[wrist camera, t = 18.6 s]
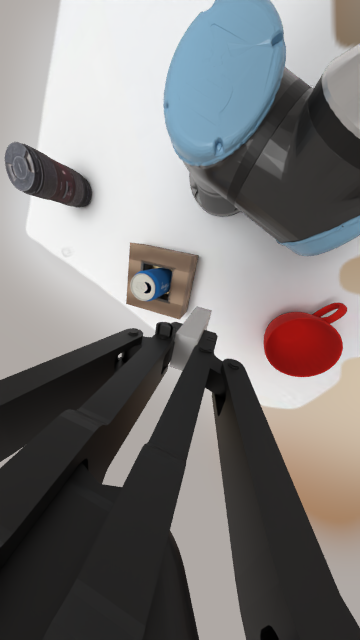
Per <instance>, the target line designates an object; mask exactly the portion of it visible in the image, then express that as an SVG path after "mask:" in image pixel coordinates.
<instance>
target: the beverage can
mask: <svg viewBox="0 0 360 640" xmlns="http://www.w3.org/2000/svg"><path fill="white" fill-rule="evenodd" d="M171 278H172V272H171V271H170V270H169V269H166V268H162V267H160V268H155V269H149V270H144V271H139V272H138V273H136V274H135V275H134V277H133V278H132V280H131V283H130V288H131V291H132V293H133V295H134V296H135V297H136V298H137V299H139V300H142V301H152V300H154V299H156V298H157V297H159V296H161V295H163V294H165V293H167V292H169V290H170V284H171Z"/></svg>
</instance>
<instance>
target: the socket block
mask: <svg viewBox="0 0 360 640" xmlns="http://www.w3.org/2000/svg"><path fill="white" fill-rule="evenodd" d="M197 260H198V255H193V254H188V253H183V252H179V251H174V250H169V249H164V248H160V247H155V246H150V245H145V244H137V243H130V255H129V270H128V286H127V302H126V304H129V305H132V306H136V307H139V308H143V309H146V310H150V311H153V312H156V313H160V314H163V315H167V316H170V317H173V318H177V319H180V318H181V317H182V316H183V315H184V314H185V313H186V312H187V307H188V302H189V298H190V293H191V288H192V283H193V279H194V274H195V269H196V264H197ZM153 266H157V267H162V268H166V269H170V270H173V272H172V278H171V284H170V290H169V294H166V293H165V294H163V295H161V296H159V297H157V298H156V299H154V300H152V301H142V300H139V299H137V298H136V297H135V296H134V295H133V293H132V291H131V288H130V283H131V280H132V278H133V277H134V275H135V274H136V273H138V272H139V271H144V270H149V269H153Z"/></svg>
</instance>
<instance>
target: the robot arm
mask: <svg viewBox="0 0 360 640" xmlns="http://www.w3.org/2000/svg"><path fill="white" fill-rule="evenodd" d="M283 34H284V33H283V26H282V22H281V19H280V16H279V14H278V12H277V10H276V9H275V7H274V5H273V4H272V3H271V1H270V0H215V2H214V4H213V6H212V7H211V8H210V9H209V10H207V11H205V12H201V13H200V14H199V15H198V16H197V17H196V18H195V20H194V21H193V22H192V23H191V25H190V26H189V28H188V29H187V31H186V32H185V34H184V35H183V37H182V39H181V41H180V42H179V44H178V46H177V48H176V51H175V53H174V55H173V58H172V61H171V64H170V67H169V70H168V74H167V79H166V84H165V90H164V115H165V123H166V127H167V131H168V134H169V136H170V139H171V142H172V144H173V148H174V149H175V152H176V154H177V155H178V156H179V158H180V159H181V160H182V161H183V162H184V164H185V166H186V167H187V169H188V170H189V172H190V173H189V177H190V186H191V190H192V193H193V195H194V198H195V199H196V201H197V202H198V204H199V205H200V206H201V207H202V208H203V209H204V210H205V211H206V212H208V213H210V214H212V215H216V216H229V215H233V214H236V213H238V212H240V211H241V212H242V213H244V214H245V215H246V216H247V217H249V218H250V219H251V220H252V221H254V222H255V223H256V224H257V225H259V226H260V227H261V228H263V229H264V230H265V231H266V232H268V233H269V234H270V235H271V236H273V237H274V238H275V239H276V241H277V242H278V243H279V244H281V245H284V246H286V247H288V248H289V249H291V250H292V251H293V252H295V253H296V254H298V255H302V256H314V255H319V254H322V253H325V252H328V251H330V250H332V249H335V248H337V247H339V246H341V245H343V244H345V243H347V242H349V241H351V240H352V239H354V238H356V237H357V236H359V235H360V44H358V45H357V46H355V47H353V48H352V49H350V50H348V51H347V52H345V53H343V54H342V55H340V56H338V57H337V58H335V59H334V60H332V61H331V62H330V63H329V65H328V66H327V68H326V69H325V71H324V73H323V74H322V76H321V78H320V79H319V81H318V83H317V84H316V86H315V88H314V89H313V88H312V87H310V86H309V85H308V84H306V83H305V82H304V81H302V80H301V79H300V78H298V77H297V76H296V75H295V74H293V73H292V72H291V71H289V70H288V69H287V68H286V67H285V60H286V46H285V42H284V37H283ZM210 315H211V310H208V309H204V308H200V307H196V308H195V310H194V311H193V312H192V313H191V315H190V316H189V317H188V319H187V320H186V321H185V322H184V324H181V323H178V322H174V323H171V324H170V323H167V322H159V323H157V325H156V332H155V335H154V336H153V337H143V332H142V331H141V330H138V329H134V328H132V329H126V330H124V331H121V332H119V333H116V334H114V335H111V336H109V337H106V338H104V339H101V340H99V341H97V342H94V343H92V344H89V345H86V346H84V347H82V348H79V349H77V350H74V351H72V352H69V353H67V354H64V355H62V356H59V357H57V358H54V359H52V360H49V361H47V362H44V363H42V364H39V365H37V366H35V367H32V368H30V369H27V370H24V371H22V372H19V373H17V374H14V375H12V376H9V377H7V378H5V379H2V380H0V462H1V461H2V460H4V459H6V458H7V457H9V456H10V455H12V454H13V453H15V452H16V451H18V450H19V449H21V448H22V447H23V448H22V449H21V450H20V451H19V452H18V453H17V454H16V455H15V456H13V457H12V458H11V459H10V460H9V461H8V462H7V463H6V464H4V466H2V467H1V468H0V640H199V637H198V632H197V627H196V622H195V618H194V613H193V608H192V603H191V598H190V593H189V588H188V583H187V579H186V574H185V569H184V565H183V561H182V558H181V555H180V552H179V549H178V546H177V544H176V541H175V539H174V537H173V535H172V533H171V531H170V527H171V523H172V519H173V514H174V511H175V507H176V503H177V499H178V495H179V491H180V487H181V483H182V479H183V475H184V471H185V466H186V460H187V456H188V452H189V448H190V444H191V440H192V436H193V432H194V428H195V424H196V421H197V417H198V412H199V409H200V405H201V401H202V397H203V393H204V389H205V388H207V389H209V390H210V391H211V392H212V400H213V408H214V416H215V424H216V432H217V439H218V448H219V455H220V463H221V471H222V479H223V487H224V494H225V502H226V509H227V518H228V526H229V533H230V542H231V550H232V558H233V564H234V565H233V566H234V572H235V581H236V587H237V593H238V600H239V606H240V612H241V617H242V622H243V626H244V631H245V635H246V640H360V628H359V626H358V624H357V622H356V621H355V619H354V617H353V616H352V614H351V613H350V611H349V609H348V607H347V606H346V604H345V602H344V601H343V599H342V597H341V596H340V593H339V591H338V589H337V586H336V584H335V582H334V579H333V577H332V574H331V572H330V570H329V567H328V565H327V562H326V560H325V558H324V555H323V553H322V551H321V548H320V546H319V543H318V541H317V539H316V536H315V534H314V532H313V529H312V527H311V525H310V522H309V520H308V517H307V515H306V513H305V510H304V508H303V505H302V503H301V501H300V498H299V496H298V493H297V491H296V489H295V486H294V484H293V482H292V479H291V477H290V475H289V472H288V470H287V467H286V465H285V463H284V460H283V458H282V455H281V453H280V451H279V448H278V446H277V444H276V442H275V439H274V436H273V434H272V432H271V429H270V427H269V425H268V422H267V420H266V417H265V415H264V413H263V410H262V408H261V406H260V403H259V401H258V398H257V396H256V394H255V391H254V389H253V387H252V384H251V382H250V379H249V377H248V375H247V372H246V370H245V368H244V366H243V365H242V364H241V363H240V362H238V361H236V360H233V359H225V360H224V361H221V360H219V359H218V358H217V357H216V356H215V355H214V349H215V345H216V341H217V335H216V333H213V332H210V331H206V330H207V326H208V322H209V319H210ZM120 353H122V357H120V358H118V355H119V354H120ZM169 362H170V367H173V368H176V369H179V370H182V371H183V372H182V373H181V376H180V378H179V380H178V382H177V384H176V386H175V388H174V390H173V392H172V394H171V396H170V399H169V400H168V403H167V405H166V407H165V409H164V411H163V413H162V415H161V417H160V420H159V421H158V423H157V425H156V427H155V430H154V432H153V434H152V436H151V438H150V440H149V442H148V443H147V444H145V445H144V446H143V447H142V449H141V451H140V453H139V455H138V457H137V459H136V461H135V463H134V465H133V467H132V469H131V471H130V473H129V475H128V477H127V479H126V481H125V483H124V485H123V487H116V486H109V485H102V482H103V479H104V477H105V474H106V471H107V469H108V467H109V465H110V464H111V462H112V460H113V459H114V457H115V455H116V454H117V452H118V451H119V449H120V447H121V445H122V444H123V442H124V441H125V439H126V437H127V436H128V434H129V432H130V431H131V429H132V427H133V426H134V424H135V422H136V421H137V419H138V417H139V416H140V414H141V413H142V411H143V409H144V408H145V406H146V404H147V402H148V401H149V399H150V397H151V396H152V394H153V393H154V391H155V389H156V387H157V386H158V384H159V383H160V381H161V380H162V378H163V376H164V374H165V373H166V371H167V369H168V364H169ZM77 409H78V410H77Z"/></svg>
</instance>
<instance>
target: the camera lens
mask: <svg viewBox="0 0 360 640" xmlns="http://www.w3.org/2000/svg"><path fill="white" fill-rule="evenodd" d="M5 166H6V171H7V174H8V176H9V179H10V181H11V182H12V184H13V185H14V186H15V187H16V188H17V189H18V190H20V191H23V192H24V193H26V194H29V195H33V196H36V197H39V198H43V199H47V200H52V201H56V202H59V203H62V204H65V205H68V206H74V207H84V206H87V205H88V204H89V202H90V200H91V188H90V185H89V183H88V182H87V180H86V179H85V178H83V177H82V176H81V175H80V174H79V173H77V172H76V171H74V170H73V169H71V168H69V167H67V166H65V165H62V164H60V163H58V162H56V161H54V160H53V159H51V158H49V157H48V156H46V155H45V154H43V153H41V152H39V151H37V150H36V149H34V148H32V147H30V146H28V145H25V144H21V143H18V142H13V143H11V144H10V145H9V146H8V147H7V150H6V153H5Z"/></svg>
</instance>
